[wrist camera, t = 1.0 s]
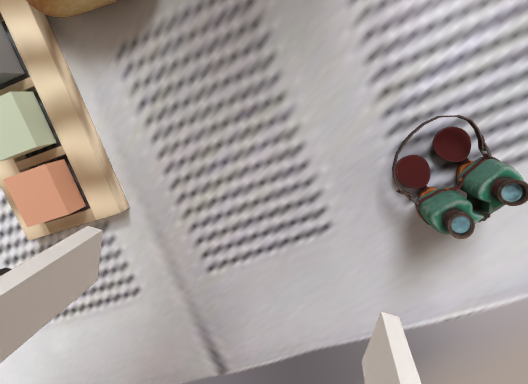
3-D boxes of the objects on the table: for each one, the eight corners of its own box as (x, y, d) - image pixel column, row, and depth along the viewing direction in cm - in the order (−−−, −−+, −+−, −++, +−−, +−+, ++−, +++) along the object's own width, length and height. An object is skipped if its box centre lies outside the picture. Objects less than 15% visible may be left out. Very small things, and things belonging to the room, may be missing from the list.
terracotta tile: (24, 173, 43) (2, 179, 40) (64, 159, 41) (45, 164, 39) (46, 218, 44) (27, 227, 41) (86, 206, 43) (69, 214, 40)
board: (-60, 36, 42) (-78, 33, 40) (34, -12, 39) (19, -17, 37) (40, 234, 47) (28, 240, 45) (129, 207, 44) (120, 212, 42)
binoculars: (481, 94, 26) (564, 201, 26) (443, 102, 36) (503, 179, 36) (378, 169, 29) (454, 266, 29) (369, 156, 39) (426, 228, 39)
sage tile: (-8, 108, 41) (-33, 110, 38) (32, 91, 40) (10, 91, 37) (16, 157, 42) (-6, 162, 40) (56, 142, 41) (36, 146, 38)
